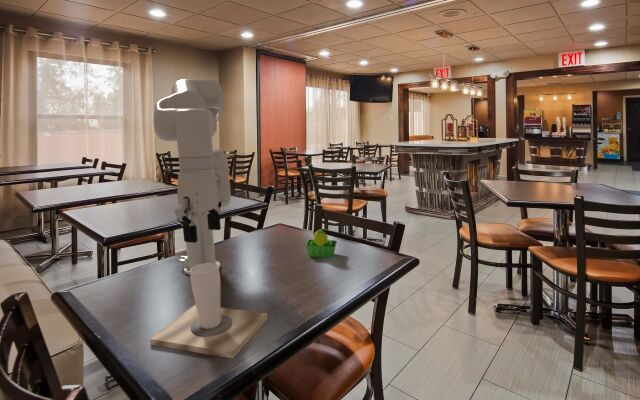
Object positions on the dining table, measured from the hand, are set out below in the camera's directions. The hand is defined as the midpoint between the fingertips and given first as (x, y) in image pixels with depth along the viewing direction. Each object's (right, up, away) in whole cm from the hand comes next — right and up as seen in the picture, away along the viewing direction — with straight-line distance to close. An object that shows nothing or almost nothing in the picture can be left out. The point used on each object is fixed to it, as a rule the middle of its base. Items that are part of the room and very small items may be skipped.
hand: (203, 235), depth 90 cm
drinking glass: (+1, -23, +4) cm, 23 cm away
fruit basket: (+29, -13, +57) cm, 65 cm away
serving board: (+1, -24, +4) cm, 25 cm away
